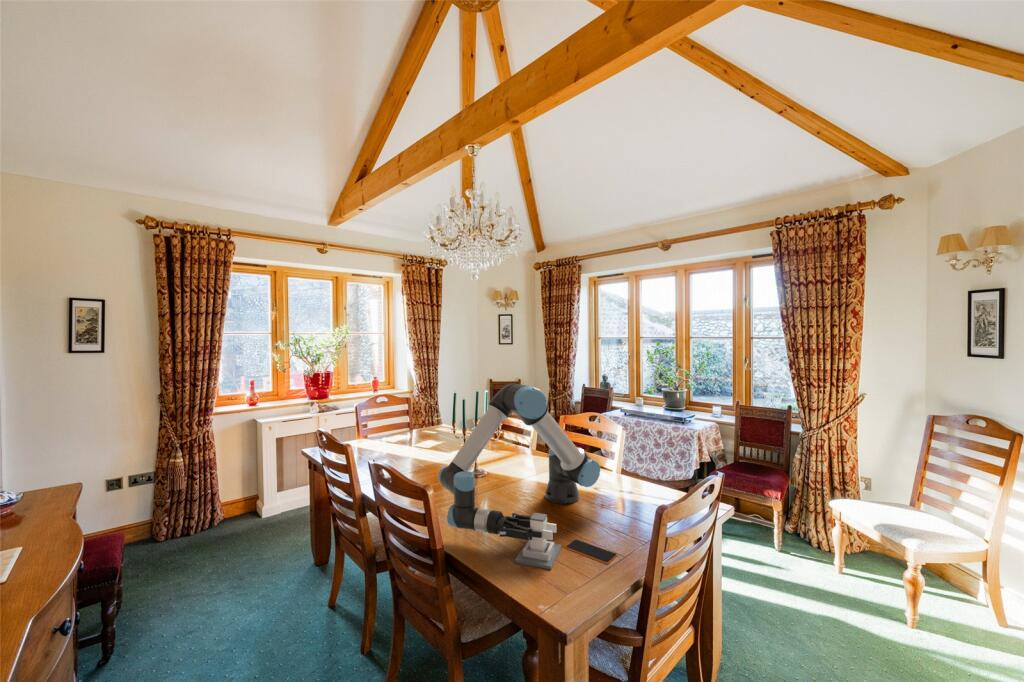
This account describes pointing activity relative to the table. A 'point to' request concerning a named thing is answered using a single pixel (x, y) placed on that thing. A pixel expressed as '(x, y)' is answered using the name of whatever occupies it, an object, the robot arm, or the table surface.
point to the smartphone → (591, 551)
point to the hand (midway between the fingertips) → (554, 532)
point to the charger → (539, 523)
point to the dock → (539, 555)
